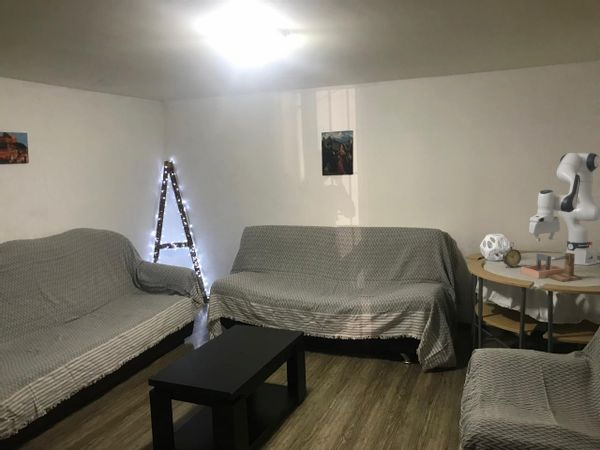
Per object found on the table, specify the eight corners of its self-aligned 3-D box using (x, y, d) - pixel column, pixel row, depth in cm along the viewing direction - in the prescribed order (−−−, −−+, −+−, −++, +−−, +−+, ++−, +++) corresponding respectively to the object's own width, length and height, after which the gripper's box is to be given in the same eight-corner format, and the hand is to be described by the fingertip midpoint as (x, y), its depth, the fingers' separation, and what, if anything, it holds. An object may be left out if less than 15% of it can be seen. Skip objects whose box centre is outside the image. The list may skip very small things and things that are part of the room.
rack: (566, 275, 284) (567, 251, 282) (581, 279, 275) (582, 254, 273) (544, 278, 279) (545, 254, 277) (558, 282, 270) (559, 257, 268)
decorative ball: (502, 256, 341) (503, 231, 338) (515, 262, 321) (516, 236, 319) (474, 257, 340) (475, 232, 338) (486, 263, 320) (487, 237, 318)
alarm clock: (505, 268, 304) (506, 243, 302) (500, 266, 310) (501, 242, 307) (521, 267, 307) (522, 242, 304) (515, 265, 312) (516, 241, 309)
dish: (546, 269, 298) (546, 263, 298) (565, 274, 285) (565, 268, 285) (520, 273, 292) (521, 266, 292) (538, 278, 279) (539, 271, 278)
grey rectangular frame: (539, 270, 293) (539, 253, 291) (550, 273, 285) (550, 256, 283) (536, 270, 292) (536, 253, 291) (546, 273, 284) (547, 256, 283)
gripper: (554, 215, 290) (553, 237, 292) (527, 218, 284) (526, 241, 286) (563, 216, 284) (562, 239, 286) (535, 219, 278) (535, 243, 280)
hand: (544, 240), depth 286 cm, fingers open, 8 cm apart
